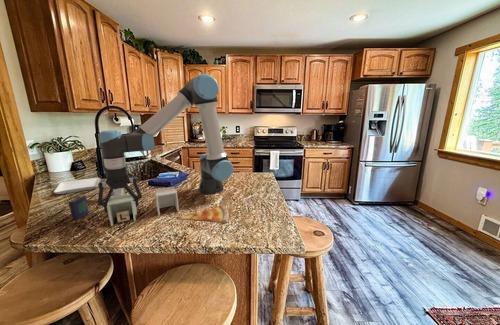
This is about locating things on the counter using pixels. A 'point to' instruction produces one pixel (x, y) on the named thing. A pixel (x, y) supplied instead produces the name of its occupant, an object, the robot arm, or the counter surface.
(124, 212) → the letter cube
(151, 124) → the robot arm
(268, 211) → the counter surface
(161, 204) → the grey mini stool
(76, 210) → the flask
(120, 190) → the beer glass
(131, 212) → the sage hood
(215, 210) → the pizza slice
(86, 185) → the salad plate
